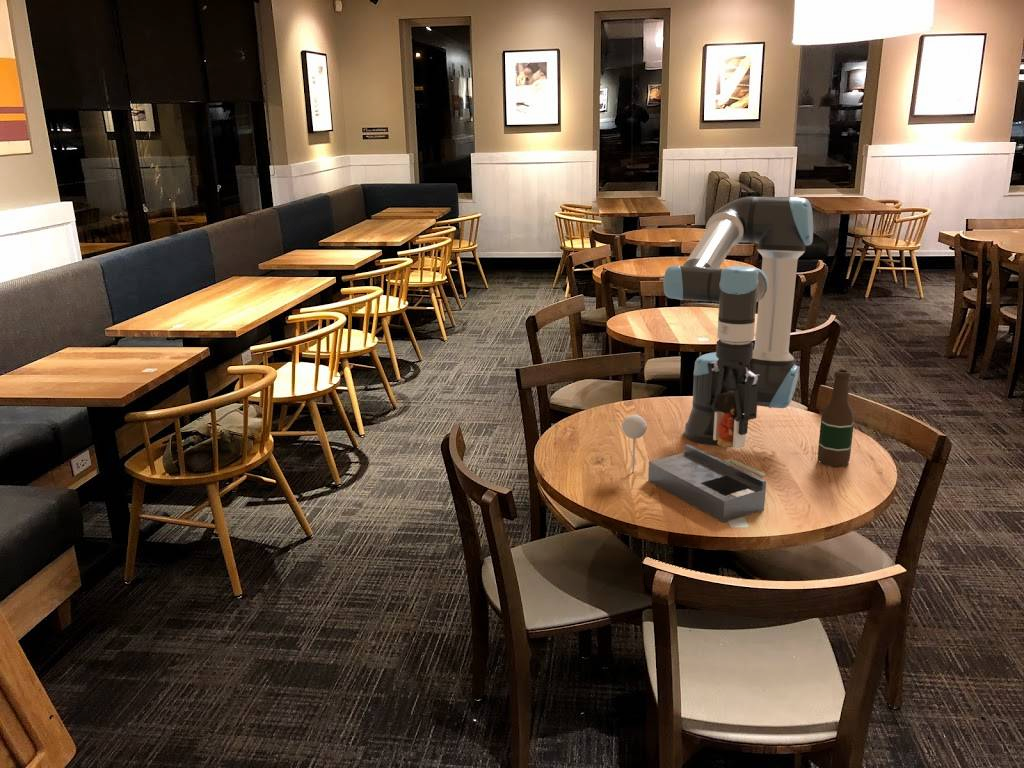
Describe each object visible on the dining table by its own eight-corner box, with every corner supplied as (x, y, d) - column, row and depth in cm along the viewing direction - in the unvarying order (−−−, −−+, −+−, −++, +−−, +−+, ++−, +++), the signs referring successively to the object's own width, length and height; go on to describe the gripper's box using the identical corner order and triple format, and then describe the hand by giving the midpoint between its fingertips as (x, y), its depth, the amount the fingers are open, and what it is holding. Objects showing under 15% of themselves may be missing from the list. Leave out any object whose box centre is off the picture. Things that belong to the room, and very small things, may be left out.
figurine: (725, 450, 175) (729, 397, 172) (708, 442, 180) (711, 390, 177) (748, 445, 178) (751, 393, 175) (730, 437, 183) (733, 386, 179)
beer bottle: (852, 468, 202) (862, 376, 195) (819, 466, 204) (828, 374, 197) (846, 456, 209) (856, 367, 202) (814, 455, 211) (823, 366, 204)
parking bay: (695, 470, 203) (695, 468, 203) (731, 460, 209) (731, 458, 209) (727, 486, 194) (727, 484, 193) (765, 475, 199) (765, 474, 199)
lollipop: (647, 469, 204) (649, 412, 200) (643, 478, 199) (645, 420, 195) (623, 466, 206) (624, 410, 202) (618, 475, 201) (619, 418, 197)
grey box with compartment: (648, 480, 198) (649, 453, 196) (686, 470, 203) (687, 444, 201) (723, 522, 176) (725, 492, 174) (764, 509, 181) (766, 480, 179)
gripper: (692, 334, 178) (687, 433, 185) (753, 352, 163) (746, 460, 170) (718, 329, 182) (712, 427, 189) (781, 347, 166) (772, 453, 173)
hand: (728, 442), depth 179 cm, fingers closed on figurine, 5 cm apart
